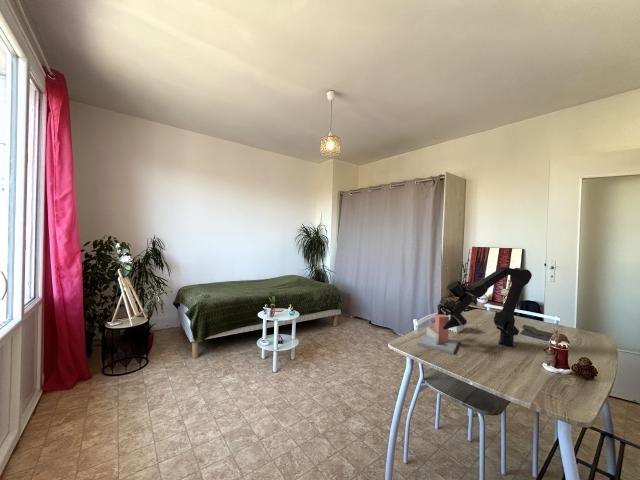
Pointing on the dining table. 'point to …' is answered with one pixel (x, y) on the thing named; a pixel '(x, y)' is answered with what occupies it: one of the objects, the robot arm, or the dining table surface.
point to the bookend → (432, 335)
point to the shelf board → (439, 344)
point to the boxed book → (441, 327)
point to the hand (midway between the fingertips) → (439, 325)
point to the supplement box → (457, 328)
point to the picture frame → (534, 334)
